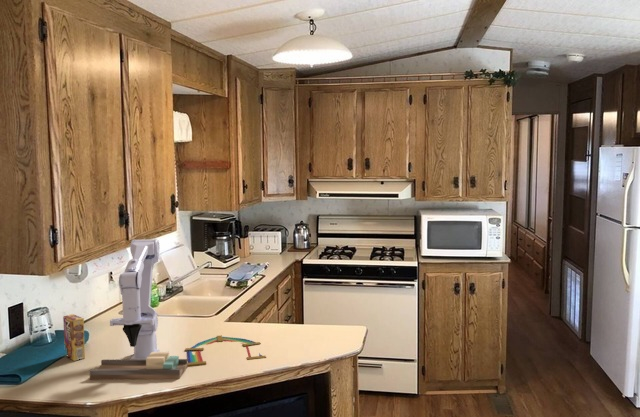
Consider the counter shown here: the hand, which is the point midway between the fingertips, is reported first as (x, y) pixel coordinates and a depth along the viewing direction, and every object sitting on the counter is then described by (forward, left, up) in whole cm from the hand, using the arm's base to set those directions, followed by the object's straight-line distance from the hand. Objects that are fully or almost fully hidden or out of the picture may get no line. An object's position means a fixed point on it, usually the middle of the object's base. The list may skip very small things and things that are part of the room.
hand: (133, 345), depth 184 cm
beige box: (+1, +9, -8) cm, 11 cm away
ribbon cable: (-23, +26, -10) cm, 36 cm away
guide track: (+1, +2, -9) cm, 10 cm away
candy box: (-15, -28, -10) cm, 33 cm away
